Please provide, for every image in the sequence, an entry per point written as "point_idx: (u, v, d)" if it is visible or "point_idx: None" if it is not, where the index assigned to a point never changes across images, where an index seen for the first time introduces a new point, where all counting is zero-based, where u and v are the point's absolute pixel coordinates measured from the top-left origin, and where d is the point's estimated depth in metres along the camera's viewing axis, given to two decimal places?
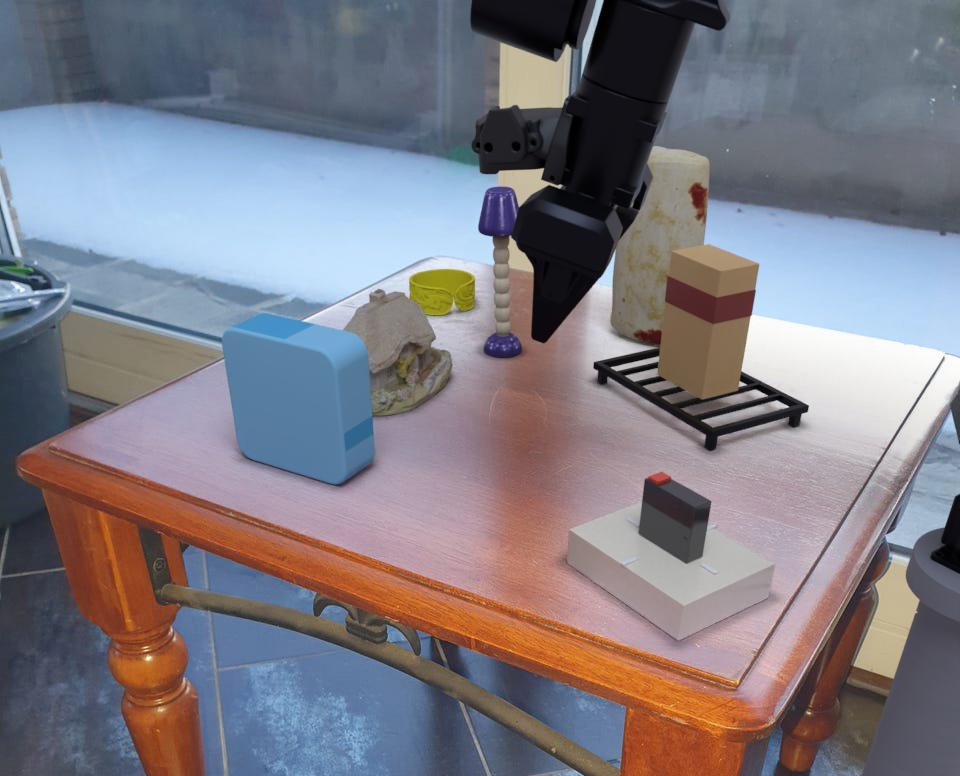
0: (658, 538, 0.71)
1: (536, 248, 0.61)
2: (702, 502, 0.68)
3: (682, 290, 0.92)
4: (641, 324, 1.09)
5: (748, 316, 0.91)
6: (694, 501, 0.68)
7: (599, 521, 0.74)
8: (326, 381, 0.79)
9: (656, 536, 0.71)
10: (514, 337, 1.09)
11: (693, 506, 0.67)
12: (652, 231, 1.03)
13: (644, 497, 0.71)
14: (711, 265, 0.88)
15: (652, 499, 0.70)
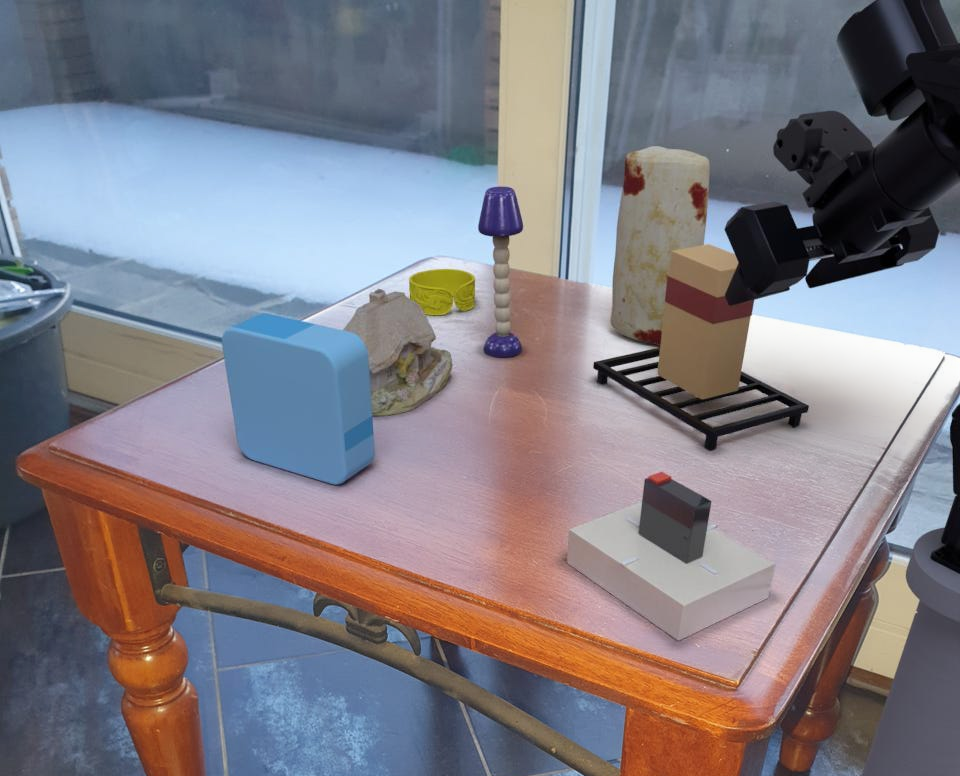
0: (658, 538, 0.71)
1: (731, 243, 0.74)
2: (702, 502, 0.68)
3: (682, 290, 0.92)
4: (641, 324, 1.09)
5: (748, 316, 0.91)
6: (694, 501, 0.68)
7: (599, 521, 0.74)
8: (326, 381, 0.79)
9: (656, 536, 0.71)
10: (514, 337, 1.09)
11: (693, 506, 0.67)
12: (652, 231, 1.03)
13: (644, 497, 0.71)
14: (711, 265, 0.88)
15: (652, 499, 0.70)
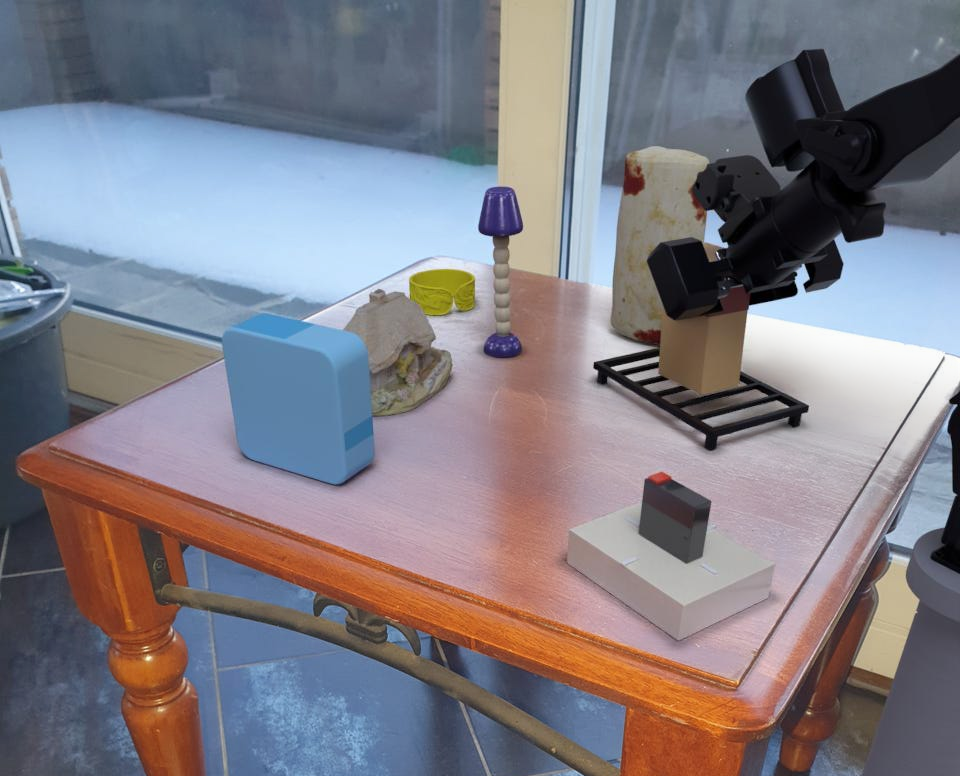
0: (658, 538, 0.71)
1: (652, 273, 0.84)
2: (702, 502, 0.68)
3: None
4: (641, 324, 1.09)
5: (745, 310, 0.91)
6: (694, 501, 0.68)
7: (599, 521, 0.74)
8: (326, 381, 0.79)
9: (656, 536, 0.71)
10: (514, 337, 1.09)
11: (693, 506, 0.67)
12: (652, 231, 1.03)
13: (644, 497, 0.71)
14: None
15: (652, 499, 0.70)
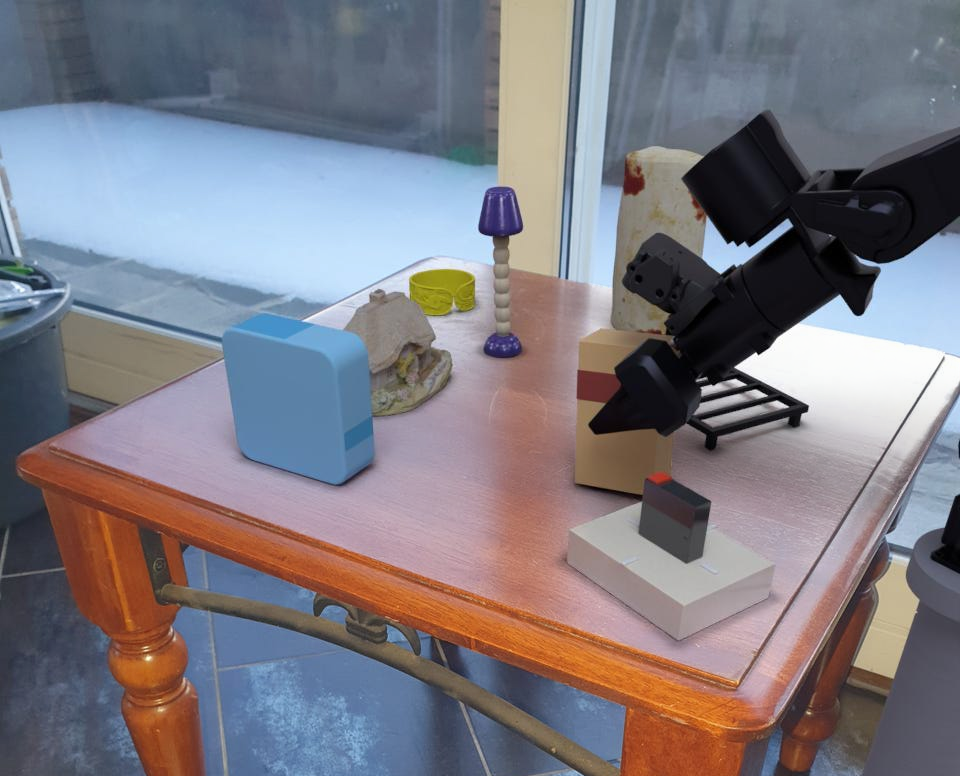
0: (658, 538, 0.71)
1: (627, 390, 0.70)
2: (702, 502, 0.68)
3: (603, 382, 0.79)
4: (641, 324, 1.09)
5: None
6: (694, 501, 0.68)
7: (599, 521, 0.74)
8: (326, 381, 0.79)
9: (656, 536, 0.71)
10: (514, 337, 1.09)
11: (693, 506, 0.67)
12: (652, 231, 1.03)
13: (644, 497, 0.71)
14: None
15: (652, 499, 0.70)
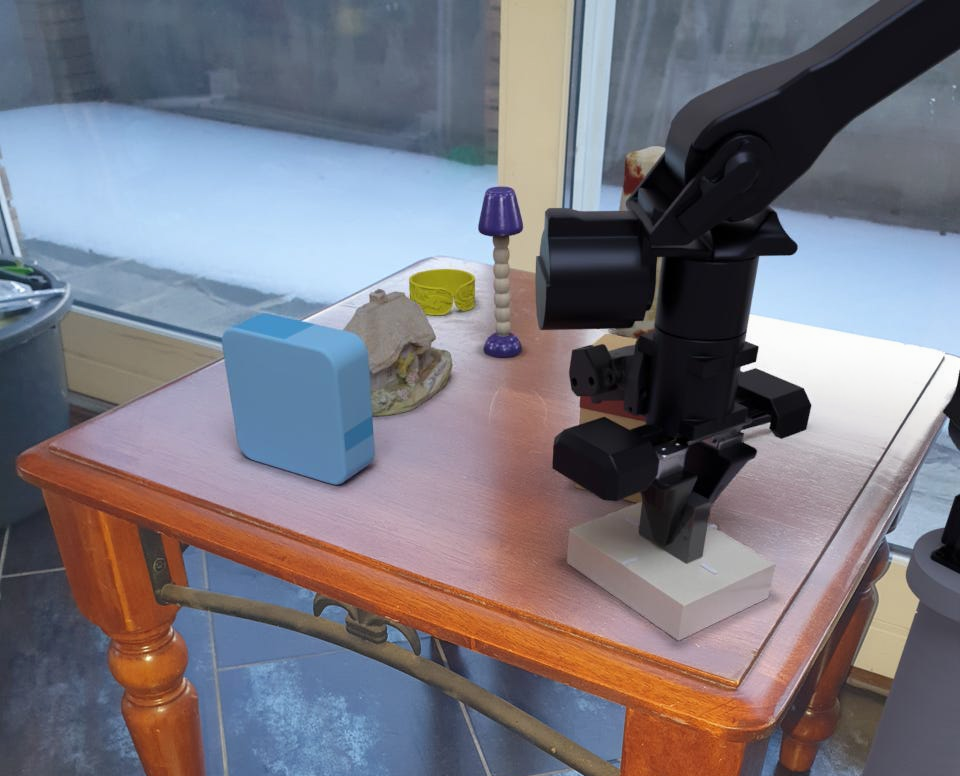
0: None
1: (564, 474, 0.63)
2: (702, 502, 0.68)
3: None
4: (641, 324, 1.09)
5: None
6: (694, 501, 0.68)
7: (599, 521, 0.74)
8: (326, 381, 0.79)
9: None
10: (514, 337, 1.09)
11: (693, 506, 0.67)
12: None
13: None
14: None
15: None
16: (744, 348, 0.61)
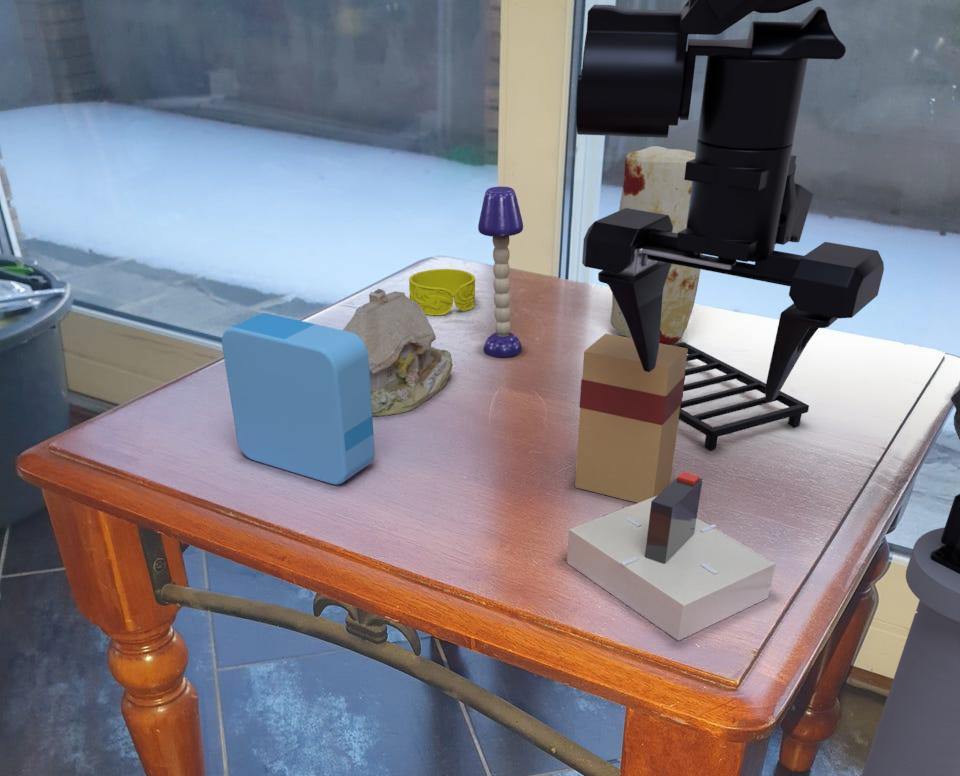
0: None
1: None
2: (665, 503, 0.67)
3: (607, 393, 0.79)
4: None
5: (679, 405, 0.81)
6: (663, 499, 0.68)
7: (599, 521, 0.74)
8: (326, 381, 0.79)
9: None
10: (514, 337, 1.09)
11: (653, 500, 0.68)
12: None
13: None
14: None
15: None
16: (747, 169, 0.59)
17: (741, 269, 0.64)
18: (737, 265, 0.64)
